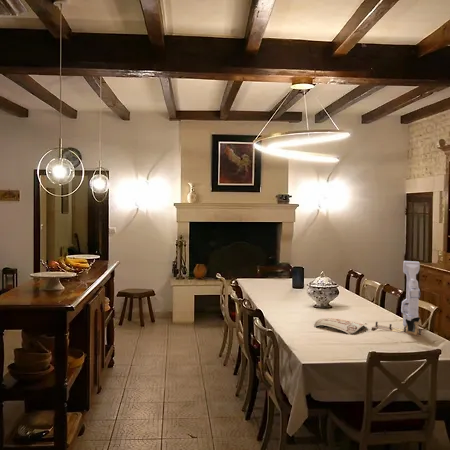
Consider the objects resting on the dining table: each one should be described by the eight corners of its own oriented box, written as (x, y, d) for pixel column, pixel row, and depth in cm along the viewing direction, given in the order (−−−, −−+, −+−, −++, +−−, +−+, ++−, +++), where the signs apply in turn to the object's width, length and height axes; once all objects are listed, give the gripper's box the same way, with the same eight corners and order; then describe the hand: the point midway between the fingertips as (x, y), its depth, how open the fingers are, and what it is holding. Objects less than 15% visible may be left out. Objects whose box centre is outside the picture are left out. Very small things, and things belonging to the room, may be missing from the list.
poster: (371, 332, 335) (329, 322, 354) (372, 323, 335) (330, 313, 354) (352, 337, 313) (309, 327, 332) (353, 327, 313) (310, 317, 332)
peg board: (377, 326, 336) (377, 320, 336) (424, 335, 318) (424, 328, 317) (371, 329, 328) (371, 322, 328) (419, 338, 310) (419, 331, 309)
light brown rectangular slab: (408, 331, 320) (408, 320, 320) (418, 333, 317) (418, 322, 316) (406, 332, 317) (406, 321, 317) (416, 334, 314) (416, 323, 313)
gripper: (410, 305, 324) (409, 326, 325) (402, 309, 313) (401, 330, 314) (422, 307, 320) (421, 328, 321) (414, 310, 309) (413, 333, 309)
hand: (412, 329), depth 317 cm, fingers open, 7 cm apart
